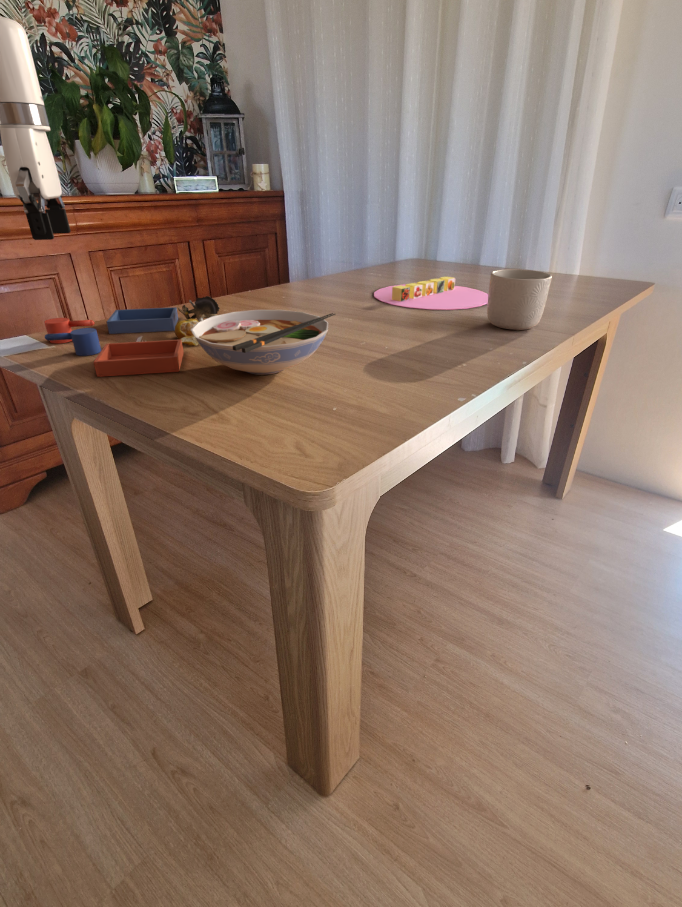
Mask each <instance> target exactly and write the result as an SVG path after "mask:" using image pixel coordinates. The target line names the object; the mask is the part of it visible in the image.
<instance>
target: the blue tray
mask: <svg viewBox="0 0 682 907" xmlns="http://www.w3.org/2000/svg"><path fill="white" fill-rule="evenodd" d="M177 307H178V306H177ZM177 307H175V306H173V307H152V308H149V307H148V308H130V309H129V308H128V309H115V310H114V311H113V313H112V314H111V315H110V317H109V318H108V319H107V320H106V326H107V330H108V334H109V335H115V334H116V335H117V334H135V333H136V334H137V333H157V332H174V330H175V326H176V324H177V323H178V322H179V314H178V308H177Z"/></svg>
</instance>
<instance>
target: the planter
mask: <svg viewBox="0 0 682 907" xmlns="http://www.w3.org/2000/svg"><path fill="white" fill-rule="evenodd" d="M552 278H553V276H552V274H550V273H548V272H544V271H540V270H532V269H522V268H521V269H519V268H515V269H514V268H507V269H506V268H504V269H496V270H493V271H491V272H490V278H489V285H488V293H487V294H488V303H487V304H486V306H487V307H486V308H487V309H486V314H487V319H488V322H490V323H491V325H493V326H495V327H497V328H500V329H505V330H512V331H513V330H514V331H521V330H522V331H523V330H528V329H533V328H534V327H536V326H537V325H538V324H539V323H540V321H541V319H542V318H543V314H544V311H545V307H546V304H547V299H548V297H549V296H548V295H549V291H550V287H551V282H552Z"/></svg>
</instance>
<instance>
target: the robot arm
mask: <svg viewBox="0 0 682 907" xmlns="http://www.w3.org/2000/svg"><path fill="white" fill-rule="evenodd" d="M47 114H48V113H47V110H46V107H45V102H44V98H43V94H42V91H41V86H40V82H39V78H38V74H37V70H36V66H35V62H34V58H33V54H32V50H31V45H30V41H29V38H28V35H27V32H26V30H25V28H24V26H23V25H21V23H19V22H18V21H16V20H14V19H13V18H9V17H5V16H0V141H1V146H2V151H3V155H4V160H5V164H6V168H7V172H8V176H9V180H10V184H11V187H12V188H11V189H12V193H13V194H14V196H15V197H16V198H17V199H18V200H19V201H20V202H21V203H22V205H23V208H22V209H23V211H24V214H25V218H26V220H27V224H28V227H29V231H30V234H31V237H32V239H33V240H34V241H47V240H48V241H49V240H50V241H51V240H54V239H55V235H56V234H70V233H71V227H70V223H69V222H70V221H69V219H68V214H67V211H66V208H65V207H66V206H65V202H64V200H63V196H62V195H63V194H62V193H63V192H62V191H63V190H62V185H61V179H60V175H59V173H58V172H59V171H58V169H57V165H56V162H55V157H54V155H53V152H52V148H51V145H50V141H49V139H48V136H47V133H46V132H51V127H50V123H49V118H48V115H47ZM54 234H55V235H54Z"/></svg>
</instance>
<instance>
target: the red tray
mask: <svg viewBox="0 0 682 907" xmlns="http://www.w3.org/2000/svg"><path fill="white" fill-rule="evenodd" d="M184 353H185V352H184V347H183V344H182V340H178V339H166V340H164V339H163V340H148V341H147V340H145V341H126V342H110V343H109V342H107V343H105V344H104V346H103V348H101V352H100V353H98V355H97V356H96V358H95V359H94V361H93V366H94V370H95V374H96V377H97V378H99V377H100V378H101V377H115V376H132V375H145V374H146V375H147V374H161V373H162V374H163V373H164V374H165V373H176V372H177V373H179V372H180V370H181V365H182V361H183V357H184Z"/></svg>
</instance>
